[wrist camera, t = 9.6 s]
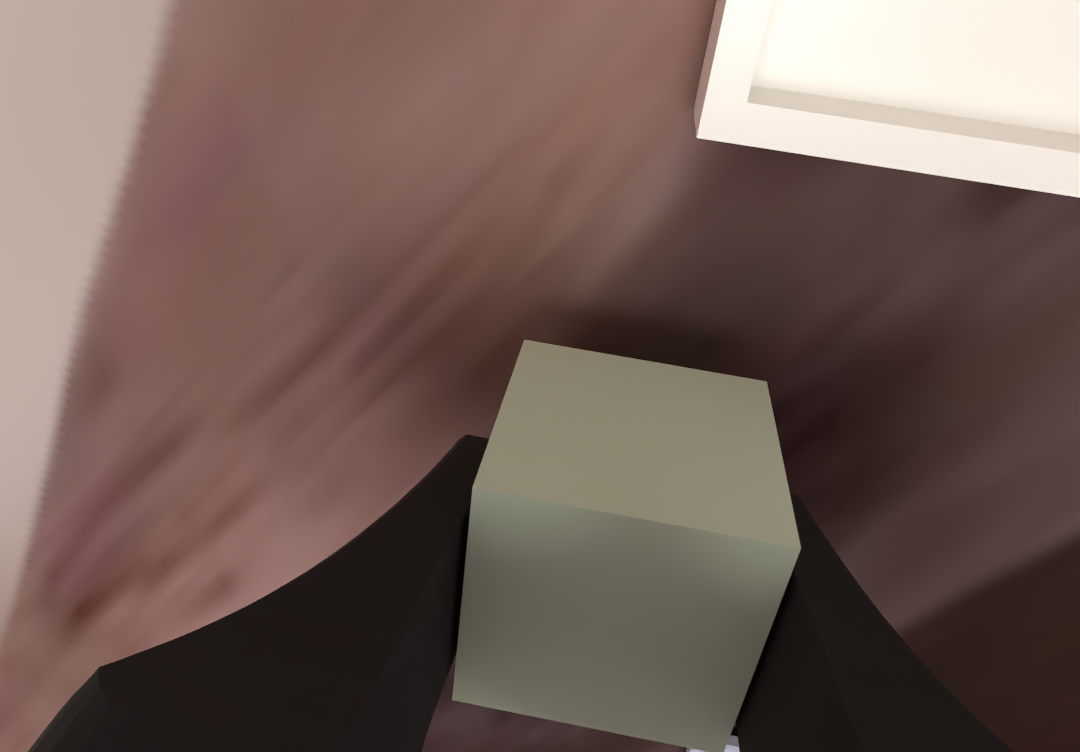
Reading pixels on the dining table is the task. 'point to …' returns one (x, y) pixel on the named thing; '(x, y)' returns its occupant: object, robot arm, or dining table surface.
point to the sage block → (624, 547)
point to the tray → (902, 85)
